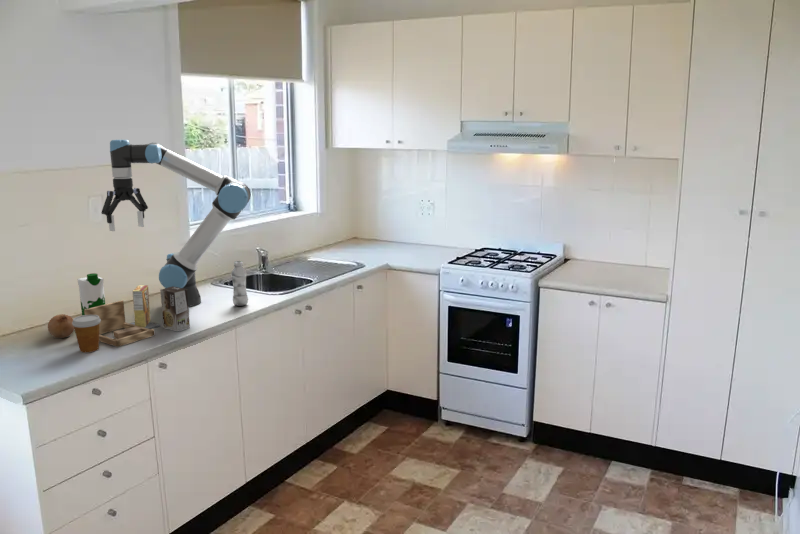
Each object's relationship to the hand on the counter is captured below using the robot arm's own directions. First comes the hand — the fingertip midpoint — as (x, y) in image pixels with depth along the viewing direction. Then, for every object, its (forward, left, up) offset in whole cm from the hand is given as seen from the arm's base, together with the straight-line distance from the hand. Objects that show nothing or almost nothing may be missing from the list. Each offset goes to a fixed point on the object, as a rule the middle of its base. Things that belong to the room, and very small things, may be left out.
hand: (126, 228), depth 285 cm
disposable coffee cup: (+38, +27, -37) cm, 59 cm away
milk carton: (+16, -4, -37) cm, 40 cm away
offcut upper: (+23, +29, -35) cm, 51 cm away
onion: (+35, +5, -37) cm, 51 cm away
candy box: (+9, +19, -36) cm, 42 cm away
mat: (+10, +19, -37) cm, 42 cm away
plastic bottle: (-34, +29, -37) cm, 58 cm away
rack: (+22, +23, -37) cm, 49 cm away
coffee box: (+3, +32, -37) cm, 49 cm away
